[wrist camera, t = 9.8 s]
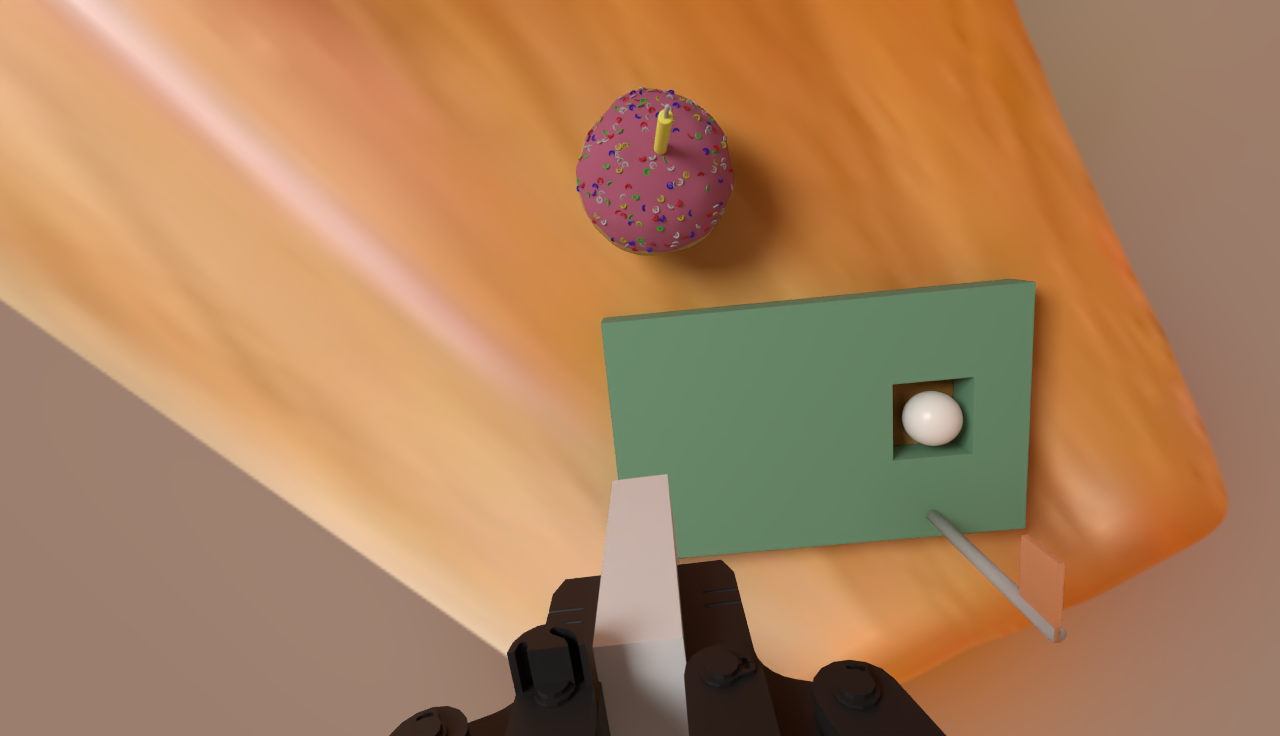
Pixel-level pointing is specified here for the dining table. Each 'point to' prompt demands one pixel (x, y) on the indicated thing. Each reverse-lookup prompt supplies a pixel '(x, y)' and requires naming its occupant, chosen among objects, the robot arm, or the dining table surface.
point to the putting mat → (836, 423)
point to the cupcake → (654, 173)
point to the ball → (932, 418)
